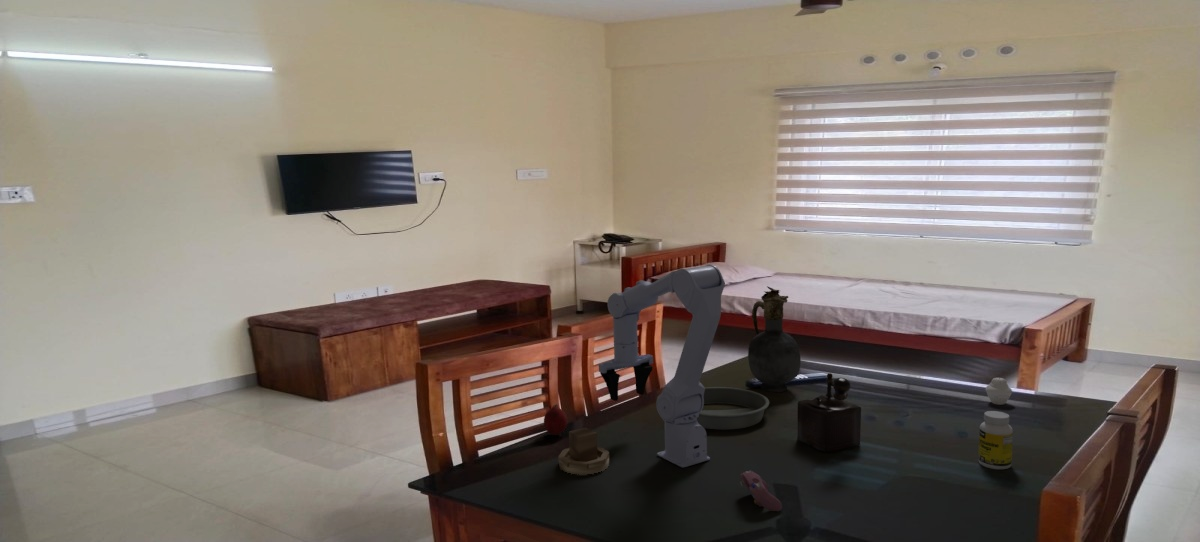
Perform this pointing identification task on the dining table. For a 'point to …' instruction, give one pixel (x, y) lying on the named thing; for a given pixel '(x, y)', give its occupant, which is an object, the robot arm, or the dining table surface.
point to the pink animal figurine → (760, 491)
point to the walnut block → (583, 445)
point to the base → (584, 463)
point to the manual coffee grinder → (830, 419)
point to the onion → (555, 420)
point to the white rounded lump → (998, 391)
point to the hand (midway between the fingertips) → (627, 396)
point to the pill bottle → (995, 441)
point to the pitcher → (773, 346)
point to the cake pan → (733, 416)
